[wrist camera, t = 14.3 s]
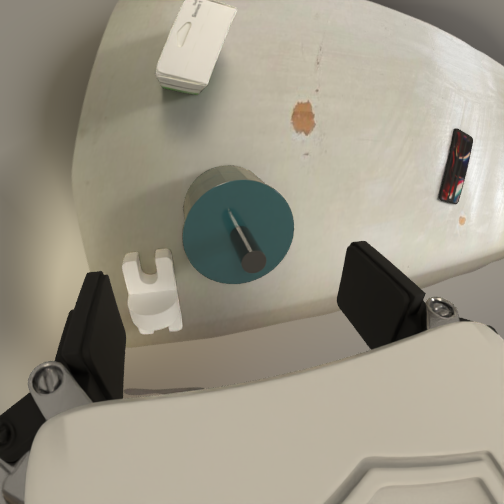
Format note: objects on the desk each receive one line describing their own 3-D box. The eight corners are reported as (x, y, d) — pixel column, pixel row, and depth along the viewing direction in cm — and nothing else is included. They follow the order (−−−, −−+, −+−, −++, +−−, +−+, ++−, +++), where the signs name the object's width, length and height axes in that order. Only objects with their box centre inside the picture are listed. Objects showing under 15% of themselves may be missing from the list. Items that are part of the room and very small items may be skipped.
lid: (170, 270, 33) (171, 305, 27) (202, 163, 28) (210, 178, 23) (268, 289, 38) (285, 322, 32) (309, 198, 33) (336, 219, 28)
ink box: (198, 96, 32) (209, 90, 22) (159, 87, 30) (152, 77, 20) (220, 35, 29) (241, 6, 19) (182, 25, 27) (186, -8, 17)
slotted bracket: (123, 253, 39) (115, 284, 32) (170, 247, 40) (171, 277, 34) (140, 324, 45) (139, 358, 38) (182, 319, 46) (186, 353, 40)
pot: (173, 236, 40) (175, 265, 33) (198, 154, 36) (204, 166, 29) (251, 253, 44) (266, 283, 37) (280, 179, 40) (303, 197, 33)
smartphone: (474, 138, 44) (457, 205, 50) (471, 137, 44) (455, 204, 51) (456, 127, 42) (439, 200, 48) (453, 126, 42) (436, 199, 49)
